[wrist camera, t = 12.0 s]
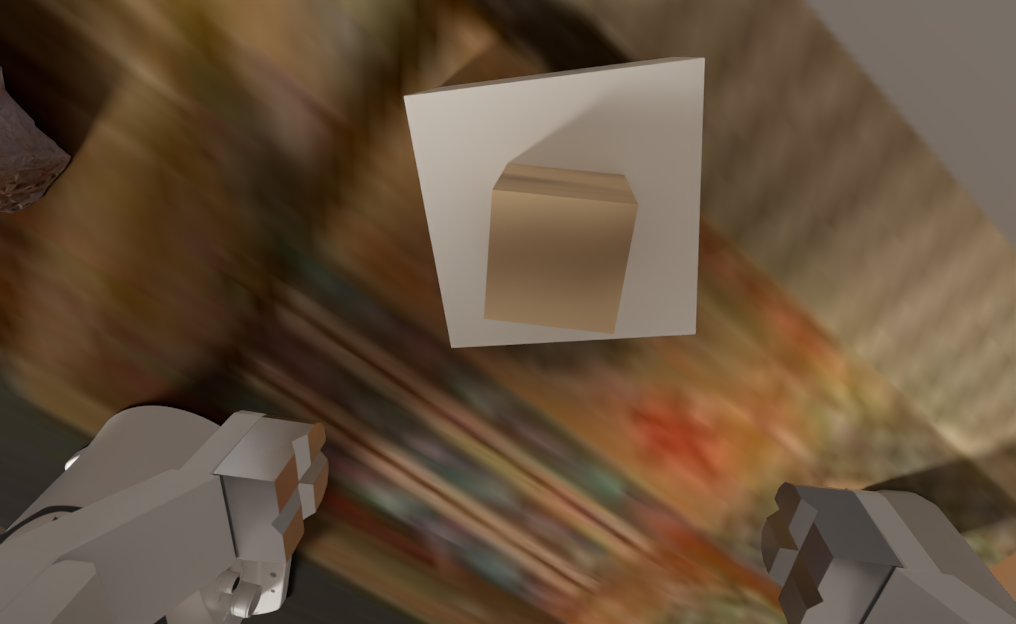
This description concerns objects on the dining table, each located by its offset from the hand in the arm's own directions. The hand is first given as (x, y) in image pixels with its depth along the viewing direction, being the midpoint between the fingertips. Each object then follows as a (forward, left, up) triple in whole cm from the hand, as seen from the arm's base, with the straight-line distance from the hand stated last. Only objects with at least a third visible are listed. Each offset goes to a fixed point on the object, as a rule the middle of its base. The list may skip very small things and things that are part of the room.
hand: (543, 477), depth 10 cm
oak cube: (0, 0, -16) cm, 16 cm away
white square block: (0, 0, -23) cm, 23 cm away
